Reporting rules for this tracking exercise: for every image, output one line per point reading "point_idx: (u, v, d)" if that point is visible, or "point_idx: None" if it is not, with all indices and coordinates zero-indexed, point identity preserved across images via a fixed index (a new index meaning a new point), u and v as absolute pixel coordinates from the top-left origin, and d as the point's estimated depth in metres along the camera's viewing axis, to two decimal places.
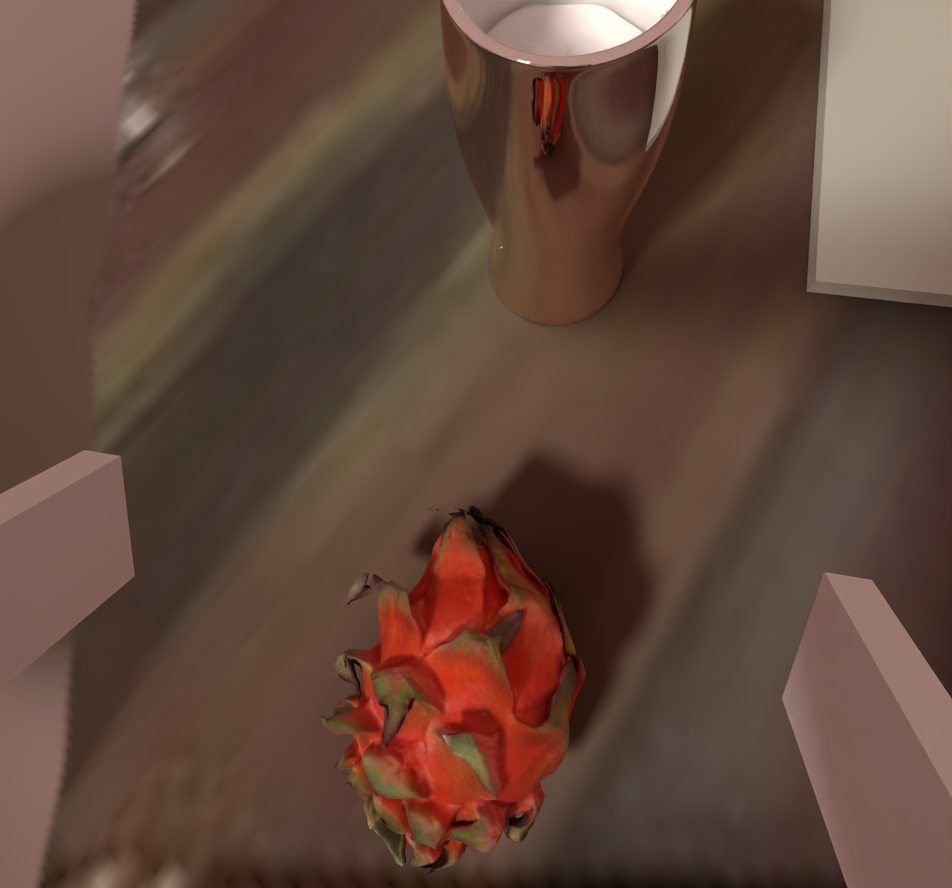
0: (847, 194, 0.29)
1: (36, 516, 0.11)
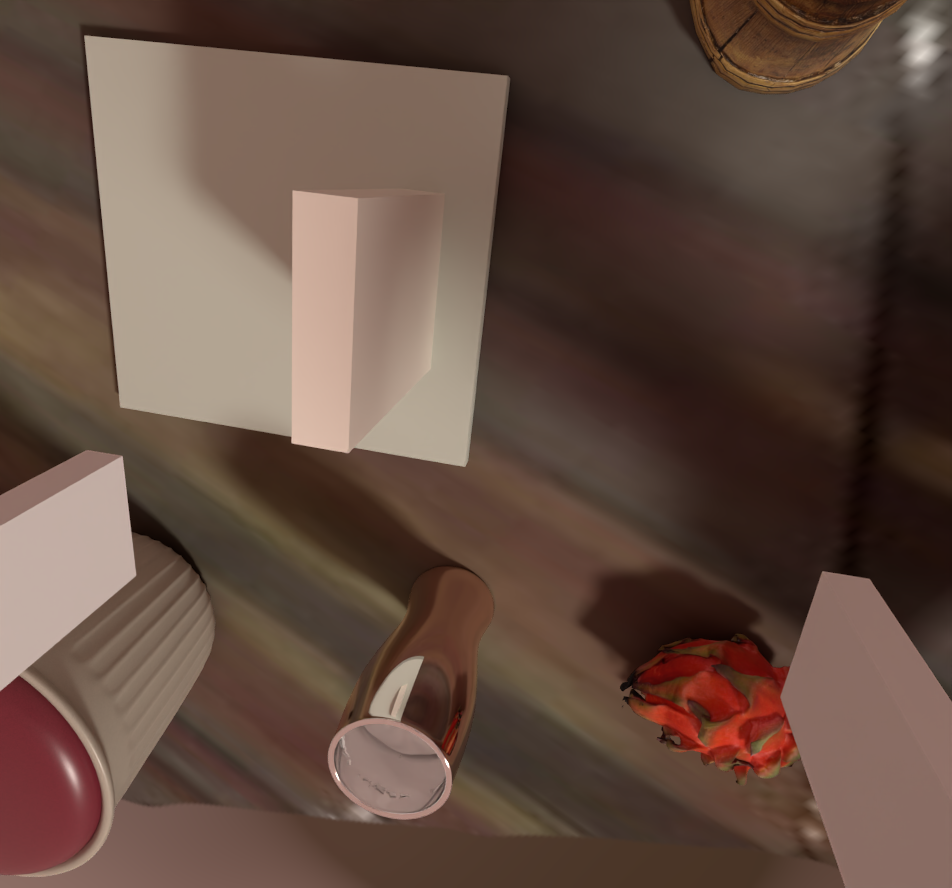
0: (400, 439, 0.43)
1: (39, 515, 0.11)
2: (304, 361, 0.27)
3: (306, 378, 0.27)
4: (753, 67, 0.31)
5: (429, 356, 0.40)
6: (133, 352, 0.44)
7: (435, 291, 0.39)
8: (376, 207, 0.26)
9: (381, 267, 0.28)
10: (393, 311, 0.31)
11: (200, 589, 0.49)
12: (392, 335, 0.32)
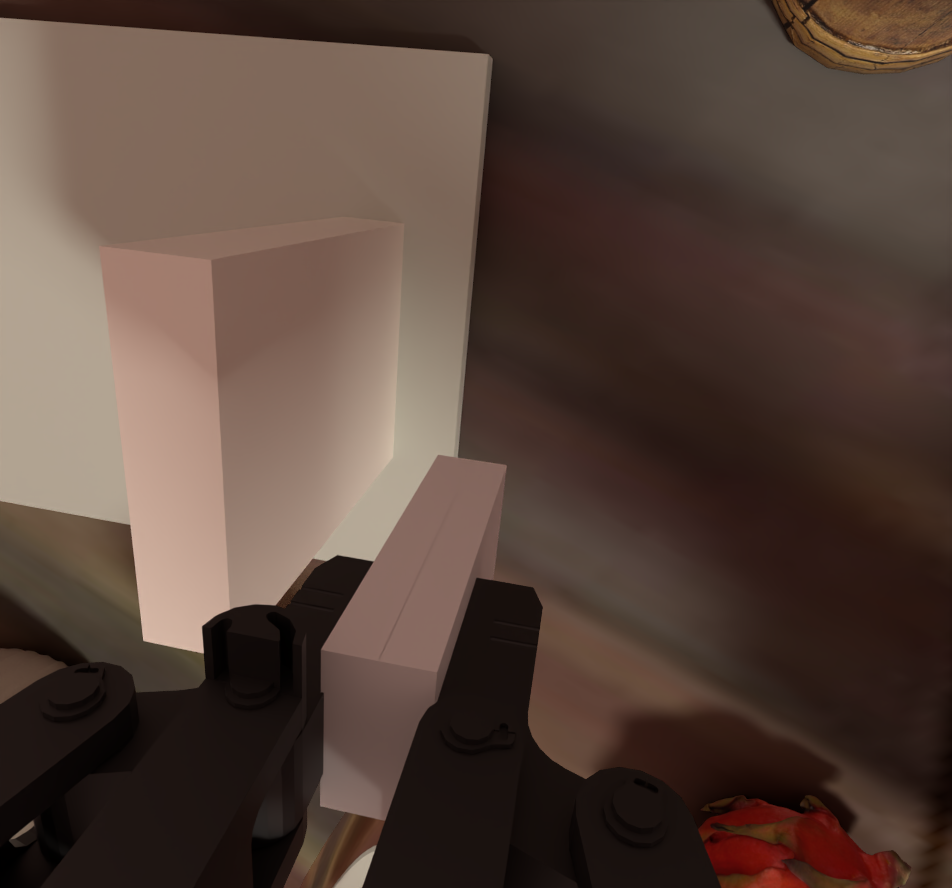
0: (357, 546, 0.32)
1: (450, 513, 0.12)
2: (149, 522, 0.16)
3: (155, 547, 0.17)
4: (860, 31, 0.20)
5: (390, 442, 0.29)
6: (6, 432, 0.34)
7: (395, 356, 0.28)
8: (262, 266, 0.16)
9: (284, 356, 0.18)
10: (316, 411, 0.20)
11: None
12: (317, 446, 0.21)
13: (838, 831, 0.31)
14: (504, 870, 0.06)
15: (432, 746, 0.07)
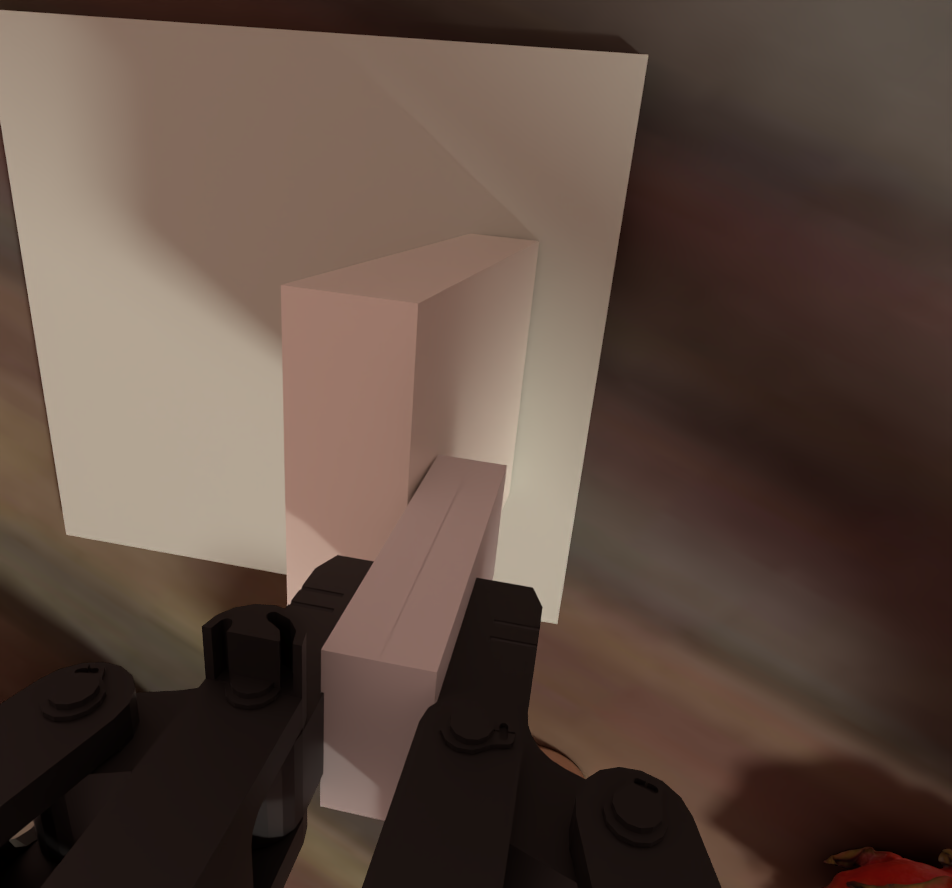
0: None
1: (450, 513, 0.12)
2: None
3: None
4: None
5: (509, 478, 0.27)
6: (80, 463, 0.31)
7: (520, 386, 0.26)
8: (450, 305, 0.13)
9: (455, 404, 0.15)
10: None
11: None
12: None
13: None
14: (504, 870, 0.06)
15: (432, 746, 0.07)
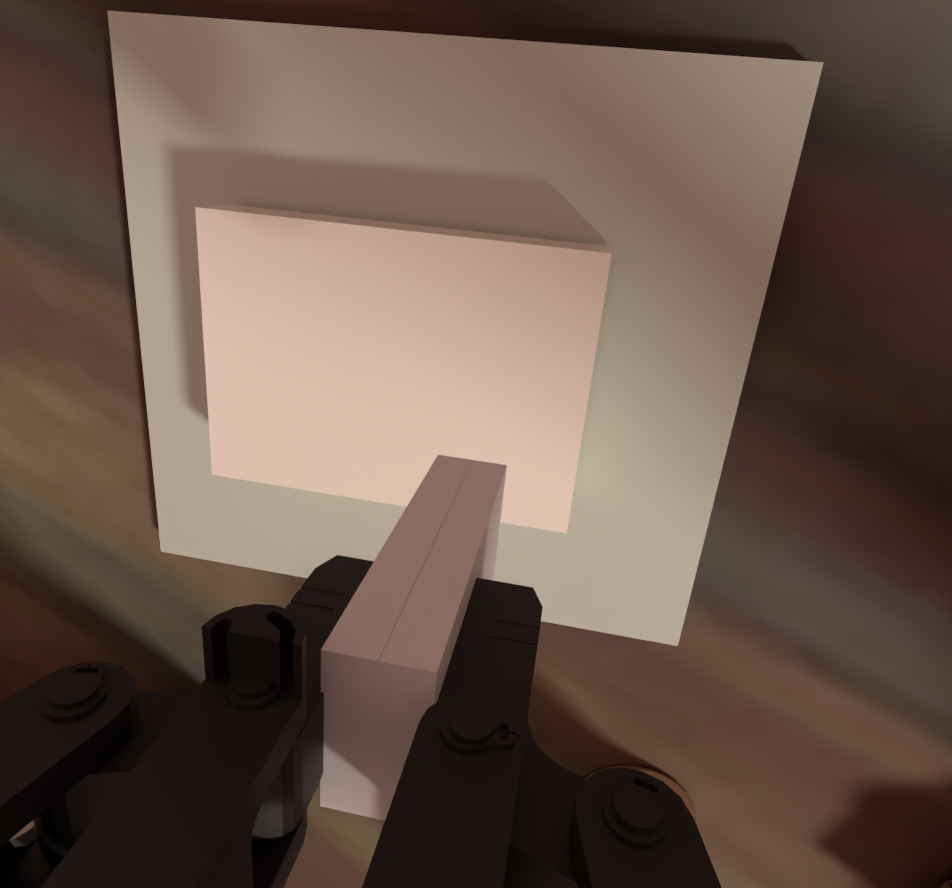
0: (581, 606, 0.29)
1: (451, 513, 0.12)
2: None
3: None
4: None
5: (556, 509, 0.25)
6: (181, 479, 0.30)
7: (575, 411, 0.23)
8: (255, 225, 0.23)
9: (286, 301, 0.23)
10: (344, 371, 0.24)
11: None
12: (345, 401, 0.24)
13: None
14: (504, 870, 0.06)
15: (432, 746, 0.07)
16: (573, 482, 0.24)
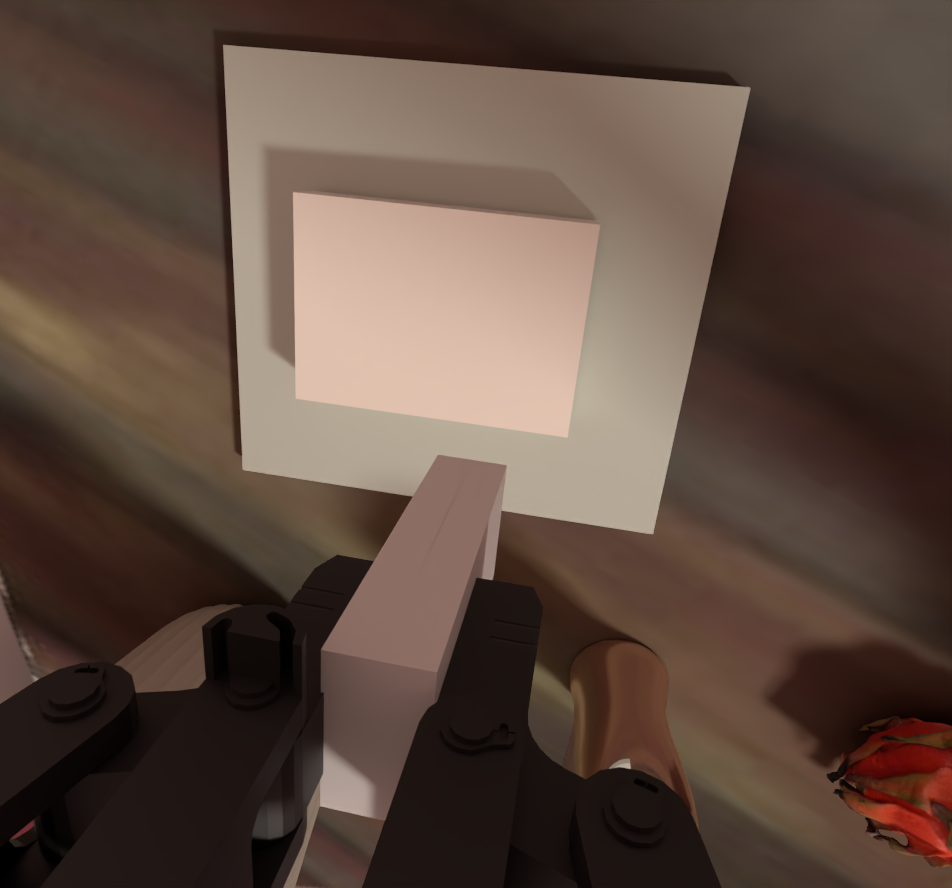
0: (578, 504, 0.37)
1: (450, 513, 0.12)
2: None
3: None
4: None
5: (559, 419, 0.33)
6: (262, 409, 0.38)
7: (574, 342, 0.31)
8: (338, 205, 0.31)
9: (359, 262, 0.32)
10: (401, 315, 0.32)
11: None
12: (401, 338, 0.33)
13: None
14: (504, 870, 0.06)
15: (432, 746, 0.07)
16: (572, 397, 0.32)
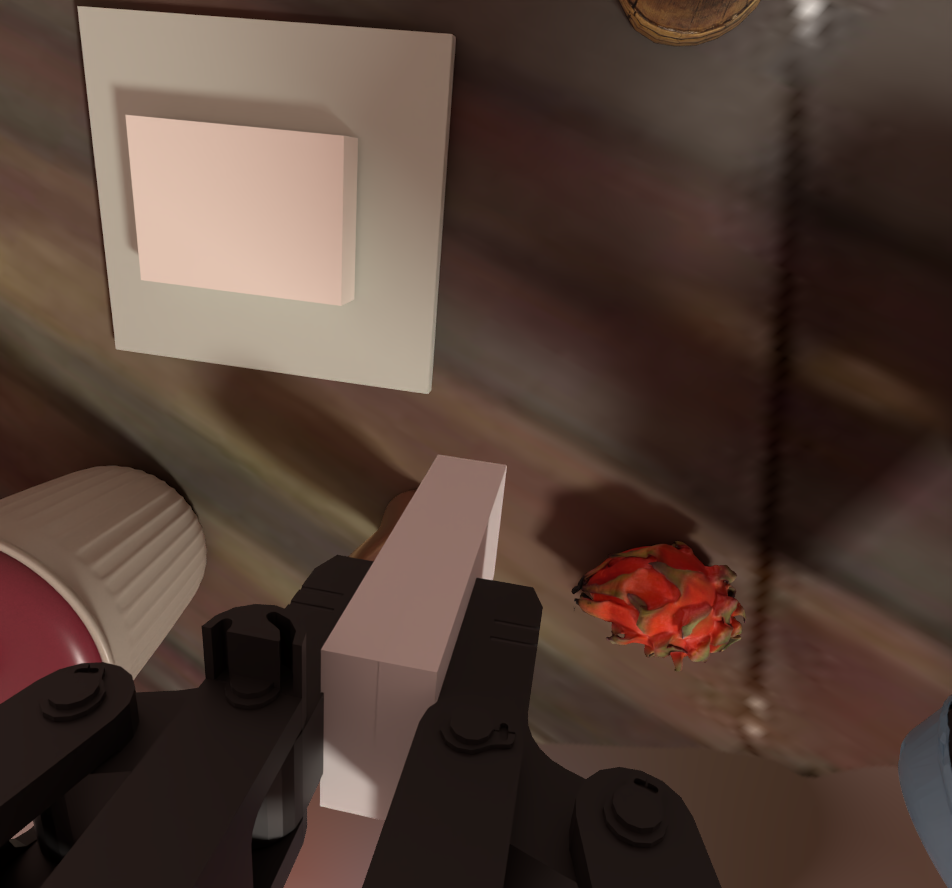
0: (369, 370, 0.48)
1: (450, 513, 0.12)
2: None
3: None
4: (661, 20, 0.36)
5: (333, 290, 0.43)
6: (127, 297, 0.49)
7: (336, 228, 0.42)
8: (158, 124, 0.41)
9: (177, 168, 0.42)
10: (211, 210, 0.43)
11: (192, 518, 0.54)
12: (213, 229, 0.43)
13: (690, 554, 0.47)
14: (504, 870, 0.06)
15: (432, 746, 0.07)
16: (341, 273, 0.43)
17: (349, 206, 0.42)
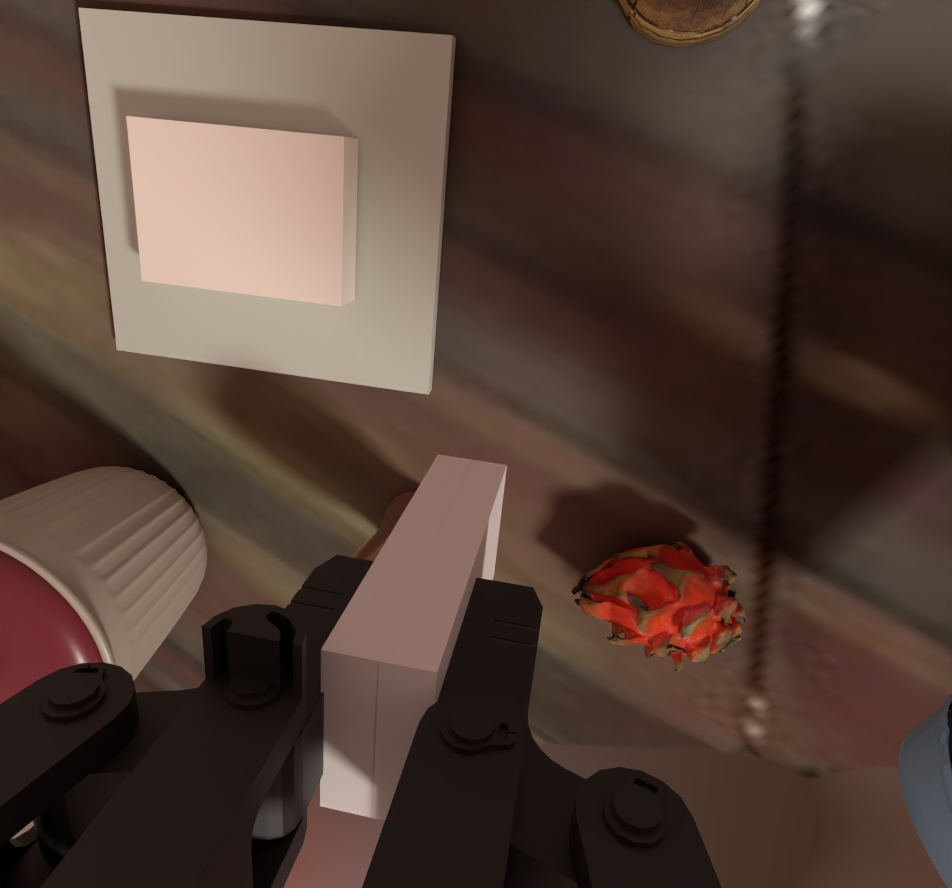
0: (370, 370, 0.48)
1: (450, 513, 0.12)
2: None
3: None
4: (661, 21, 0.36)
5: (334, 291, 0.43)
6: (127, 298, 0.49)
7: (337, 229, 0.42)
8: (159, 125, 0.41)
9: (178, 169, 0.42)
10: (212, 211, 0.43)
11: (193, 518, 0.54)
12: (213, 229, 0.43)
13: (690, 554, 0.47)
14: (504, 870, 0.06)
15: (432, 746, 0.07)
16: (341, 273, 0.43)
17: (349, 207, 0.42)
